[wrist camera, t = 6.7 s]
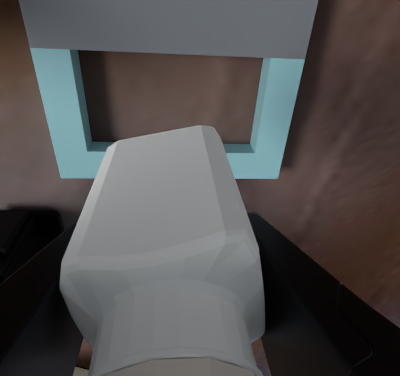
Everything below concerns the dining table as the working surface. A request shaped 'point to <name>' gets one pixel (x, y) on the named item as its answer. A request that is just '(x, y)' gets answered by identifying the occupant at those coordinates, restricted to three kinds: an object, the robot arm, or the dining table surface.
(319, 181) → the dining table surface
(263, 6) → the panel
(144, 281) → the white salt shaker
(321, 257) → the dining table surface
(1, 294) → the robot arm
